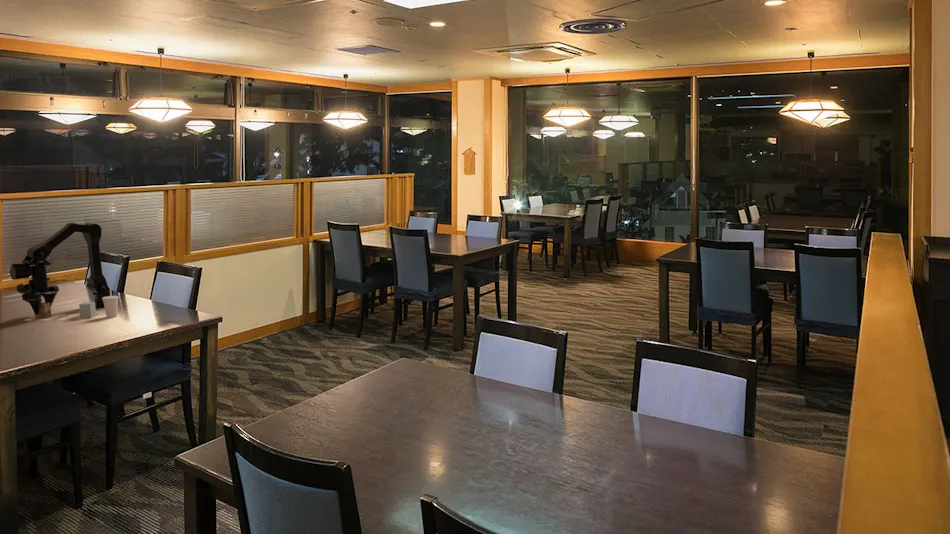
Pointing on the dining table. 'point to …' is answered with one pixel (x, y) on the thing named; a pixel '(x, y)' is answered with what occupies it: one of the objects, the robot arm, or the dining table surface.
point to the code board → (59, 317)
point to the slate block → (87, 310)
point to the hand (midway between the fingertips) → (42, 312)
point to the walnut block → (44, 311)
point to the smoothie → (110, 305)
